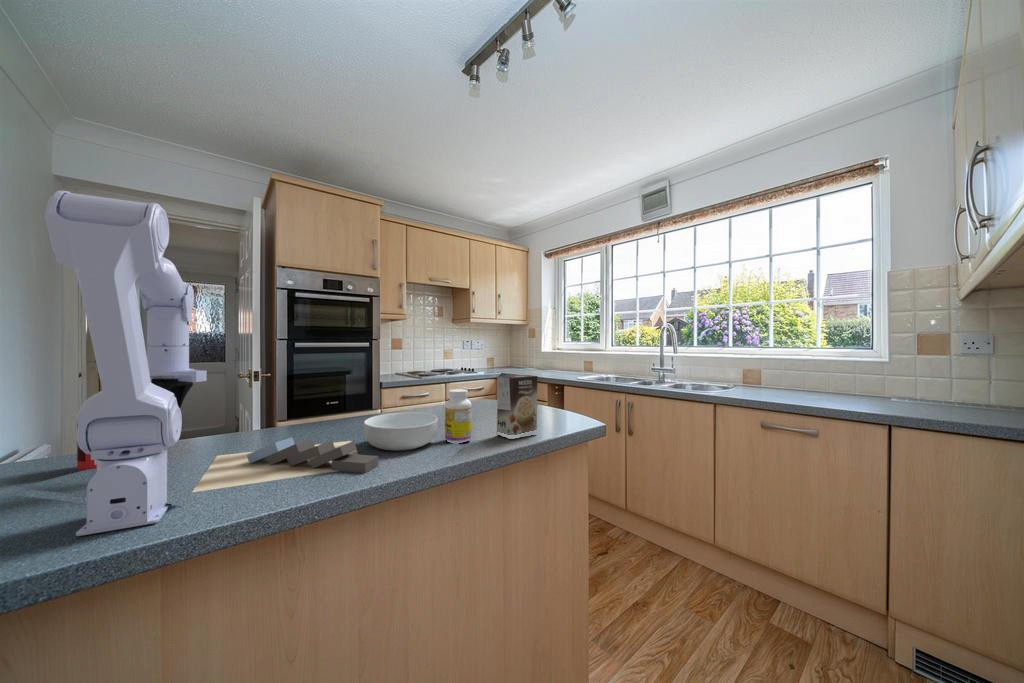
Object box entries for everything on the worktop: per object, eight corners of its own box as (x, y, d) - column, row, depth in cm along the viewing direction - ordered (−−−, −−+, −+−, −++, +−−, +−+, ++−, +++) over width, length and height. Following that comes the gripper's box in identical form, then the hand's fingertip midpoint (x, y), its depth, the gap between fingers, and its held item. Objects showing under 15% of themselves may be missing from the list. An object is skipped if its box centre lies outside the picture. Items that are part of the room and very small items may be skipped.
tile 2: (287, 458, 78) (315, 446, 77) (269, 465, 74) (299, 452, 73) (284, 450, 78) (311, 438, 77) (266, 456, 74) (295, 443, 73)
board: (365, 472, 73) (365, 466, 73) (191, 498, 61) (191, 492, 61) (351, 444, 93) (351, 440, 93) (216, 460, 80) (216, 455, 80)
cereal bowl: (352, 447, 90) (352, 417, 90) (416, 436, 102) (416, 409, 102) (382, 465, 78) (382, 430, 78) (452, 450, 89) (452, 419, 89)
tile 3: (306, 459, 78) (335, 448, 76) (290, 466, 73) (320, 454, 72) (303, 451, 78) (332, 439, 76) (287, 457, 73) (317, 445, 72)
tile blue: (267, 457, 79) (295, 445, 78) (249, 463, 75) (278, 451, 74) (264, 448, 79) (292, 437, 78) (246, 455, 75) (275, 442, 74)
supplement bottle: (443, 438, 99) (443, 389, 99) (468, 437, 101) (468, 388, 101) (446, 445, 92) (447, 392, 92) (473, 443, 94) (474, 391, 94)
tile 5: (346, 462, 76) (378, 465, 74) (331, 470, 72) (365, 473, 70) (346, 453, 76) (378, 456, 74) (331, 460, 72) (365, 463, 70)
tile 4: (327, 461, 77) (356, 449, 75) (312, 468, 72) (343, 455, 71) (324, 453, 77) (353, 440, 76) (308, 459, 72) (339, 446, 71)
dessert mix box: (511, 440, 97) (511, 377, 97) (496, 435, 102) (496, 375, 102) (537, 435, 103) (538, 375, 103) (522, 431, 108) (522, 374, 108)
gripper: (222, 346, 73) (222, 417, 73) (160, 345, 75) (159, 414, 75) (184, 346, 66) (183, 425, 66) (117, 346, 68) (116, 422, 68)
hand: (168, 420), depth 70 cm, fingers closed
